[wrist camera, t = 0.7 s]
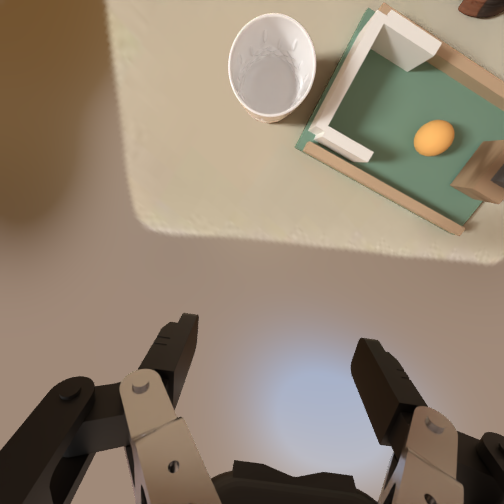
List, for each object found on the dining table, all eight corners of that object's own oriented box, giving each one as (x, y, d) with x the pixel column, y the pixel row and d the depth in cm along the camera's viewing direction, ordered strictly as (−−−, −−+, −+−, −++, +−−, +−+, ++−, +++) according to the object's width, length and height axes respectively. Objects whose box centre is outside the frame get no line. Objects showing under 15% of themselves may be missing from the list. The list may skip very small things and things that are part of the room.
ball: (420, 116, 32) (442, 110, 28) (446, 132, 32) (471, 128, 29) (400, 147, 33) (418, 145, 29) (425, 162, 34) (446, 162, 30)
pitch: (364, 12, 29) (389, -23, 24) (537, 124, 33) (595, 117, 27) (294, 147, 35) (301, 145, 29) (450, 233, 38) (483, 246, 32)
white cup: (313, 89, 32) (335, 61, 23) (271, 141, 34) (275, 135, 25) (266, 40, 31) (268, -12, 21) (225, 98, 33) (210, 74, 23)
